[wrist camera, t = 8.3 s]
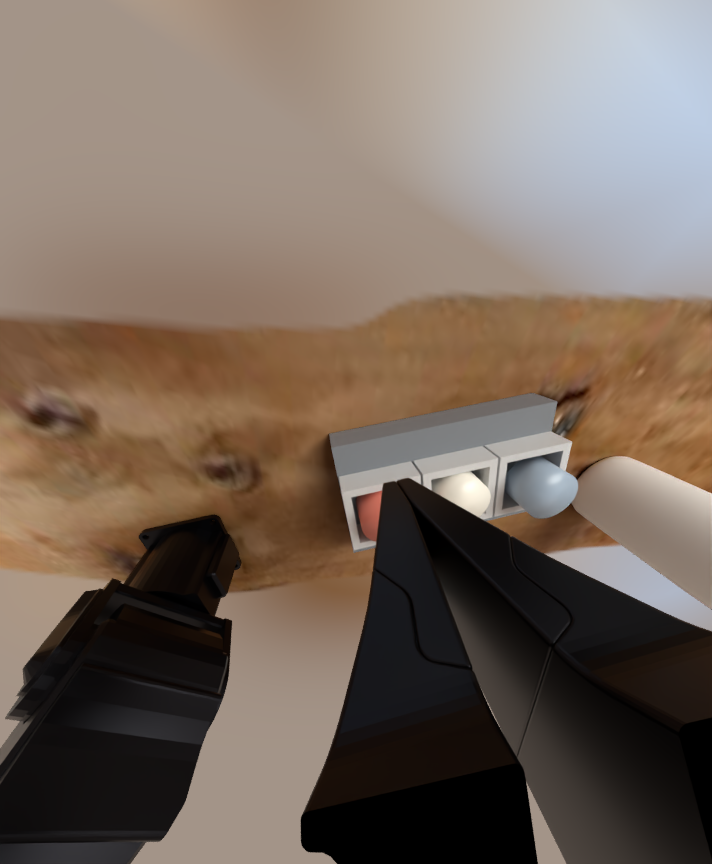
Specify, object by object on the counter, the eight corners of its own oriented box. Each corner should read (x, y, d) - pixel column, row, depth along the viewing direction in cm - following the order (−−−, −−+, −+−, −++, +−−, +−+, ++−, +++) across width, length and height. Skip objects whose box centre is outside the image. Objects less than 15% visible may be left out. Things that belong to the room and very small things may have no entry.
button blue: (501, 502, 22) (523, 523, 20) (506, 461, 20) (530, 480, 18) (545, 491, 22) (571, 511, 20) (553, 451, 20) (583, 468, 18)
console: (350, 532, 26) (357, 572, 22) (329, 433, 21) (333, 461, 17) (517, 493, 27) (553, 524, 23) (532, 392, 23) (580, 409, 19)
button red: (359, 523, 22) (365, 547, 20) (352, 485, 20) (357, 507, 18) (405, 513, 22) (415, 535, 20) (401, 474, 21) (412, 494, 18)
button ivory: (427, 508, 22) (440, 529, 20) (426, 469, 21) (440, 488, 19) (471, 498, 23) (488, 518, 21) (473, 459, 21) (492, 476, 19)
